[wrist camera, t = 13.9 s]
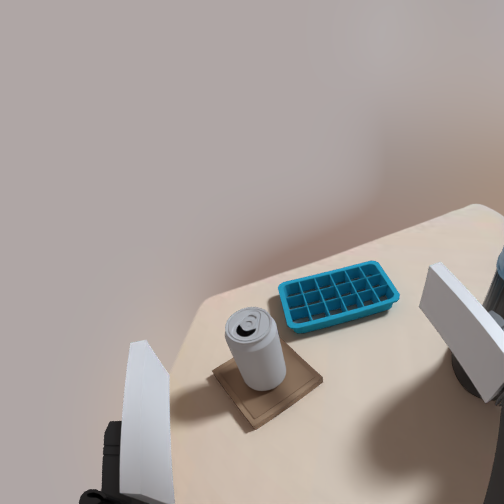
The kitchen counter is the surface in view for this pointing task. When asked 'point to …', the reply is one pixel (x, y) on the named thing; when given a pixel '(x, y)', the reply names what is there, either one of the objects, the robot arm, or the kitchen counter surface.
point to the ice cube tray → (337, 296)
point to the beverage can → (256, 348)
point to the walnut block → (271, 401)
